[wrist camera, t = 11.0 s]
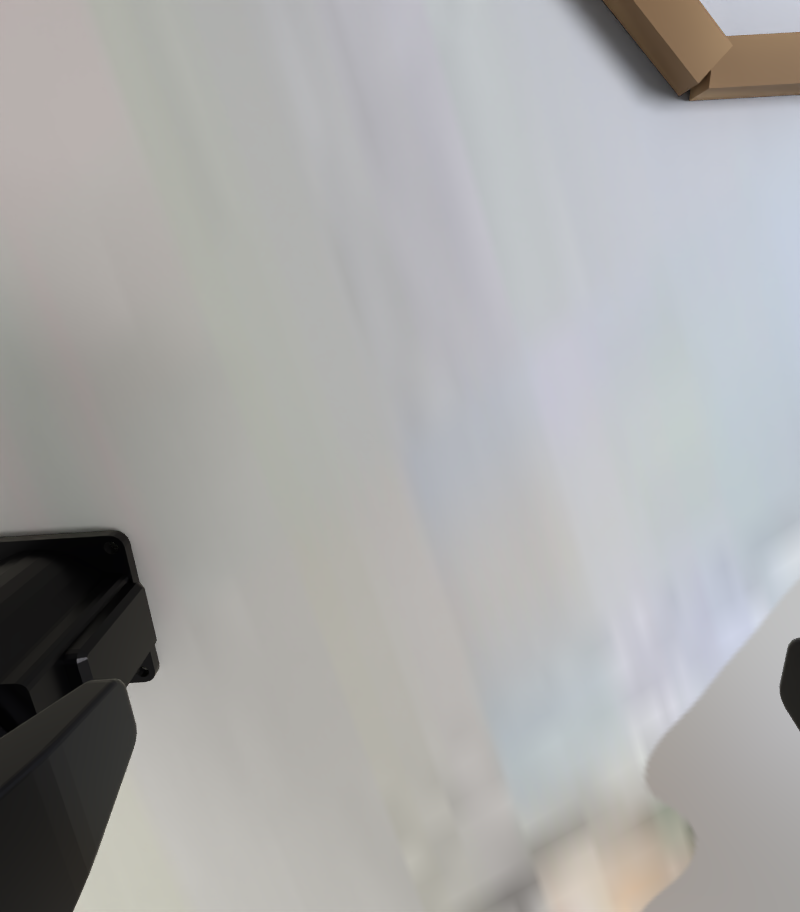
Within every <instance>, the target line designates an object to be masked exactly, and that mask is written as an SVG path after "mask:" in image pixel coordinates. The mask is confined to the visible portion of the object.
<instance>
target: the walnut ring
mask: <svg viewBox="0 0 800 912" xmlns="http://www.w3.org/2000/svg"><path fill="white" fill-rule="evenodd" d="M603 2H604V3H605V4H606V5H607V7H608V8H609V9H610V10H611V12H612V13H613V14H614V15H615V17H616V18H617V19H618V20H619V22H620V23H621V24H622V25H623V27H624V28H625V29H626V30H627V32H628V33H629V34H630V35H631V37H632V38H633V39H634V40H635V42H636V43H637V44H638V46H639V47H640V48H641V49H642V51H643V52H644V53H645V54H646V56H647V57H648V58H649V59H650V61H651V62H652V63H653V64H654V66H655V67H656V68H657V69H658V71H659V72H660V73H661V74H662V76H663V77H664V78H665V79H666V81H667V82H668V83H669V84H670V86H671V87H672V88H673V89H674V91H675V92H676V93H677V94H678V96H680V95H682V94H683V93H685V92H686V91H688V90H689V89H690V98H689V101H695V100H713V99H730V98H748V97H766V96H783V95H800V32H793V33H775V34H757V35H739V36H726V35H725V34H724V33H723V31H722V30H721V29H720V27H719V26H718V25H717V23H716V22H715V21H714V19H713V18H712V17H711V15H710V14H709V13H708V11H707V10H706V9H705V7H704V6H703V5H702V3H701V2H700V1H699V0H603Z"/></svg>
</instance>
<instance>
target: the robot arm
mask: <svg viewBox="0 0 800 912" xmlns="http://www.w3.org/2000/svg"><path fill="white" fill-rule="evenodd" d="M110 542H114V543H115V544H116V545H117V546H118V549H114V548H113V547H111V545H110ZM156 640H157V639H156V635H155V630H154V626H153V622H152V618H151V614H150V609H149V605H148V601H147V597H146V593H145V589H144V587H143V586H142V585H141V583H140V582H139V578H138V573H137V569H136V565H135V561H134V557H133V553H132V549H131V544H130V541H129V539H128V537H127V536H126V535H125V534H123V533H121V532H119V531H100V532H83V533H67V534H50V535H33V536H17V537H0V912H73V910H74V908H75V906H76V904H77V901H78V899H79V897H80V894H81V892H82V890H83V887H84V885H85V883H86V880H87V878H88V876H89V873H90V871H91V868H92V865H93V863H94V860H95V857H96V855H97V852H98V849H99V846H100V843H101V841H102V838H103V835H104V832H105V829H106V826H107V823H108V821H109V818H110V815H111V812H112V809H113V806H114V803H115V801H116V798H117V795H118V792H119V789H120V786H121V783H122V780H123V778H124V775H125V772H126V769H127V766H128V763H129V760H130V758H131V755H132V752H133V749H134V746H135V742H136V734H137V730H136V723H135V719H134V715H133V711H132V708H131V704H130V700H129V697H128V693H127V689H126V687H127V686H128V684H129V683H137V682H147V681H150V680H152V679H153V678H154V676H155V675H156V673H157V671H158V669H159V661H158V656H157V652H156V648H155V643H156ZM141 666H142V667H146V668H147V669H148V670H145V669H143V668H142V667H141ZM780 696H781V699H782V702H783V704H784V706H785V708H786V710H787V712H788V713H789V715H790V716H791V718H792V720H793V721H794V722H795V724H796V726H797V727H798V729H799V731H800V638H796V639H794V640H792V641H791V643H790V644H789V645H788V648H787V653H786V658H785V662H784V667H783V672H782V677H781V681H780Z"/></svg>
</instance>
